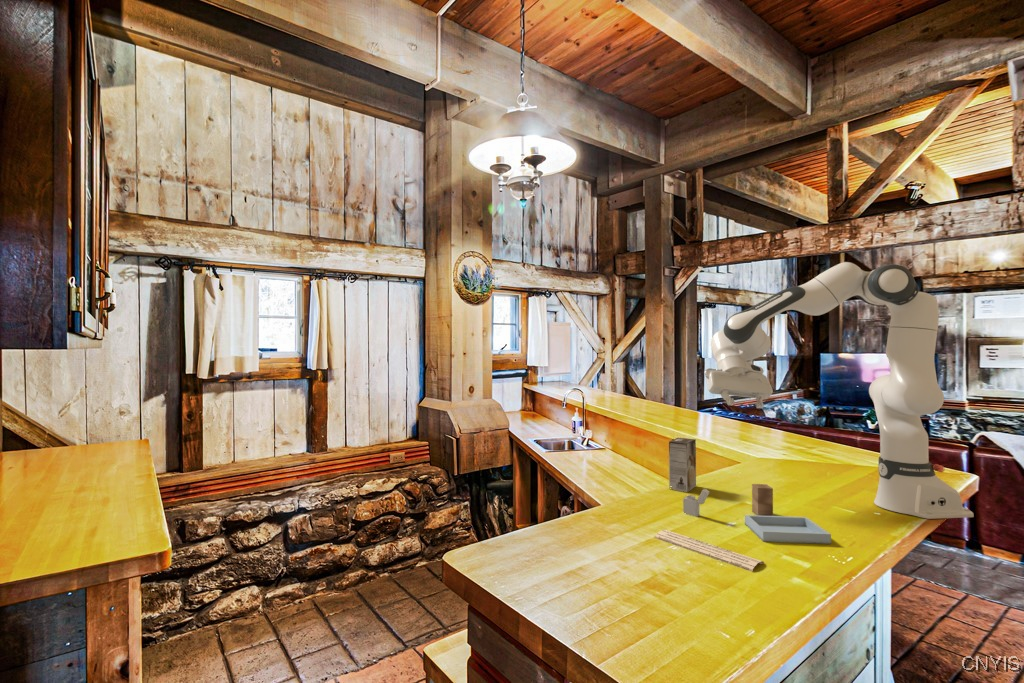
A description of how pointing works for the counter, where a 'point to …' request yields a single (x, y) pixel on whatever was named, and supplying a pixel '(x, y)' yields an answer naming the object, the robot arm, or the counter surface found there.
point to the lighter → (694, 503)
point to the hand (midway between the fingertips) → (745, 405)
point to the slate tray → (787, 529)
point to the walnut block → (762, 500)
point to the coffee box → (682, 464)
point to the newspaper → (708, 550)
